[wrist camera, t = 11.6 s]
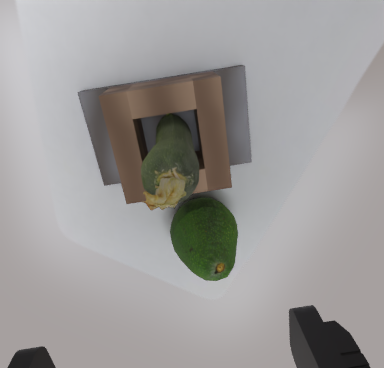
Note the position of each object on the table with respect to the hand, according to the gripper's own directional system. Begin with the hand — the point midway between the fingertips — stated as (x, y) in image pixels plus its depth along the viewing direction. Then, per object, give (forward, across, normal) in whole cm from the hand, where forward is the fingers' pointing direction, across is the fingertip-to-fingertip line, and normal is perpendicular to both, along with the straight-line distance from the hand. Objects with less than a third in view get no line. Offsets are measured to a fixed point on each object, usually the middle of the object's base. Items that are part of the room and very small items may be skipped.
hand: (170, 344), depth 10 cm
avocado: (+30, -2, +12) cm, 32 cm away
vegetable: (+28, 0, 0) cm, 28 cm away
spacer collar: (+29, 0, 0) cm, 29 cm away
